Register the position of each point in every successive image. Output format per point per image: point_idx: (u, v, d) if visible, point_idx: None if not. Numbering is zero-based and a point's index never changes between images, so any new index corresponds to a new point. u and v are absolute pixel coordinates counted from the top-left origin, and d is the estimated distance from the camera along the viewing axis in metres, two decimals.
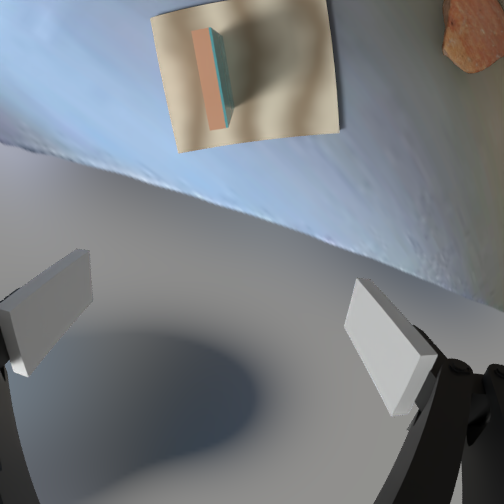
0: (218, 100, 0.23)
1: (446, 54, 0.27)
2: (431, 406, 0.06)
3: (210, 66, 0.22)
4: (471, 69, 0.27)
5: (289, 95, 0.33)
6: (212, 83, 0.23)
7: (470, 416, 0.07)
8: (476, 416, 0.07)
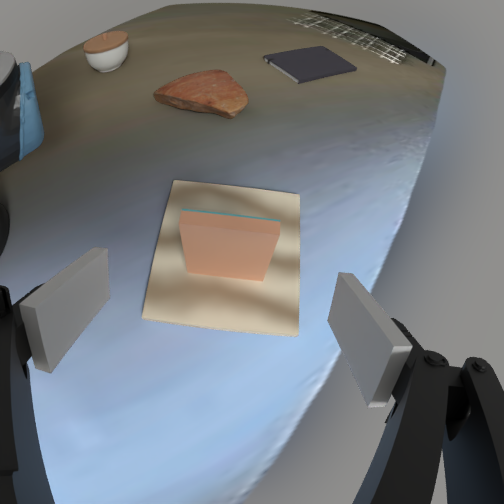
0: (252, 220, 0.28)
1: (234, 113, 0.50)
2: (407, 399, 0.07)
3: (218, 217, 0.28)
4: (245, 98, 0.51)
5: None
6: (235, 220, 0.28)
7: (448, 409, 0.08)
8: (454, 409, 0.08)
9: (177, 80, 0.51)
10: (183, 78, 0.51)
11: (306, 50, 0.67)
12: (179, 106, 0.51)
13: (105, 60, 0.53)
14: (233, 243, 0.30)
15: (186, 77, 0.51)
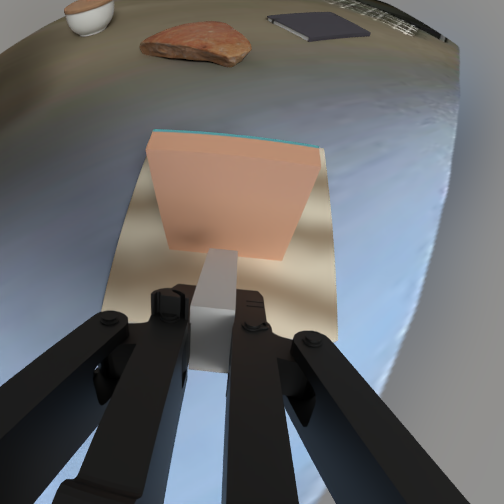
0: (273, 144, 0.16)
1: (234, 59, 0.38)
2: (231, 373, 0.07)
3: (214, 139, 0.15)
4: (247, 45, 0.39)
5: None
6: (243, 143, 0.16)
7: None
8: (284, 385, 0.09)
9: (167, 29, 0.39)
10: (174, 27, 0.39)
11: (313, 14, 0.55)
12: (168, 55, 0.39)
13: (87, 21, 0.41)
14: (239, 188, 0.17)
15: (177, 26, 0.39)
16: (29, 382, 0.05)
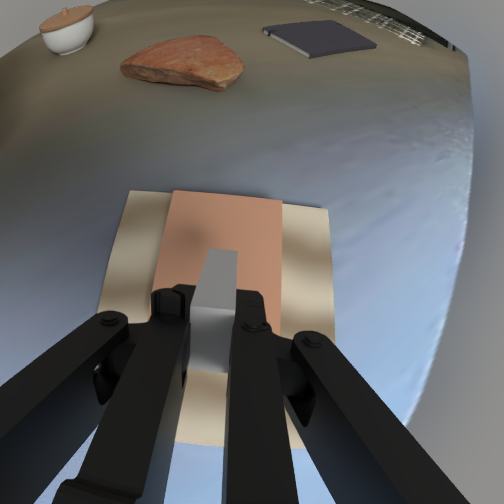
0: None
1: (224, 83, 0.35)
2: (231, 373, 0.07)
3: None
4: (240, 65, 0.36)
5: None
6: None
7: None
8: (285, 385, 0.09)
9: (149, 47, 0.35)
10: (158, 44, 0.35)
11: (314, 23, 0.51)
12: (151, 78, 0.35)
13: (63, 39, 0.37)
14: (231, 221, 0.24)
15: (161, 43, 0.36)
16: (29, 382, 0.05)
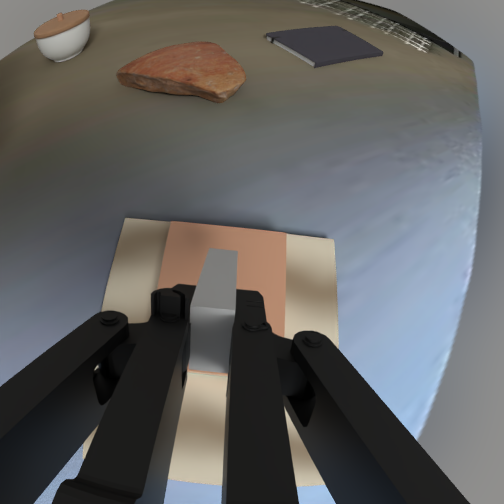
0: None
1: (225, 94, 0.34)
2: (231, 373, 0.07)
3: None
4: (241, 74, 0.34)
5: None
6: None
7: None
8: (285, 385, 0.09)
9: (147, 54, 0.34)
10: (156, 51, 0.34)
11: (319, 29, 0.50)
12: (148, 88, 0.34)
13: (58, 46, 0.35)
14: None
15: (159, 50, 0.35)
16: (29, 382, 0.05)
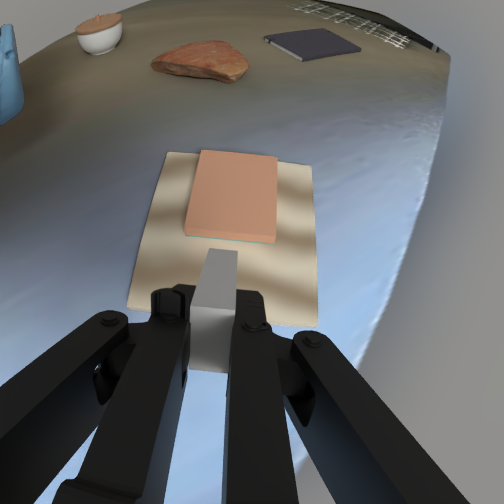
0: None
1: (234, 77, 0.46)
2: (231, 373, 0.07)
3: None
4: (245, 63, 0.47)
5: None
6: None
7: None
8: (284, 385, 0.09)
9: (175, 48, 0.47)
10: (182, 46, 0.47)
11: (308, 31, 0.62)
12: (177, 72, 0.46)
13: (98, 41, 0.48)
14: (242, 169, 0.34)
15: (184, 45, 0.47)
16: (29, 382, 0.05)
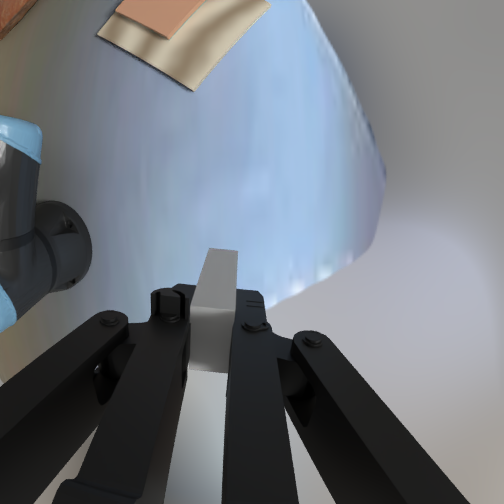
0: None
1: None
2: (231, 373, 0.07)
3: None
4: None
5: None
6: None
7: None
8: (285, 385, 0.09)
9: None
10: None
11: None
12: (19, 18, 0.31)
13: None
14: None
15: None
16: (29, 382, 0.05)
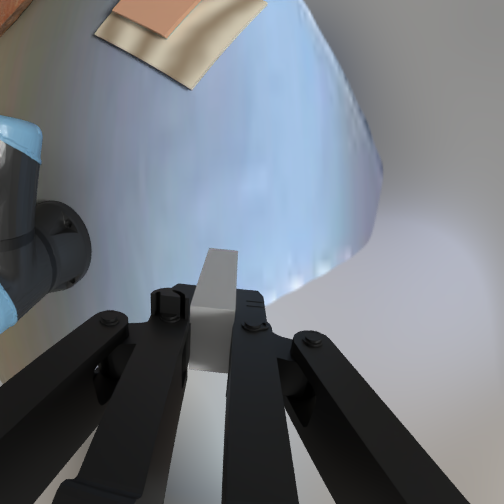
0: None
1: None
2: (231, 373, 0.07)
3: None
4: None
5: None
6: None
7: None
8: (285, 385, 0.09)
9: None
10: None
11: None
12: (14, 19, 0.31)
13: None
14: None
15: None
16: (29, 382, 0.05)
